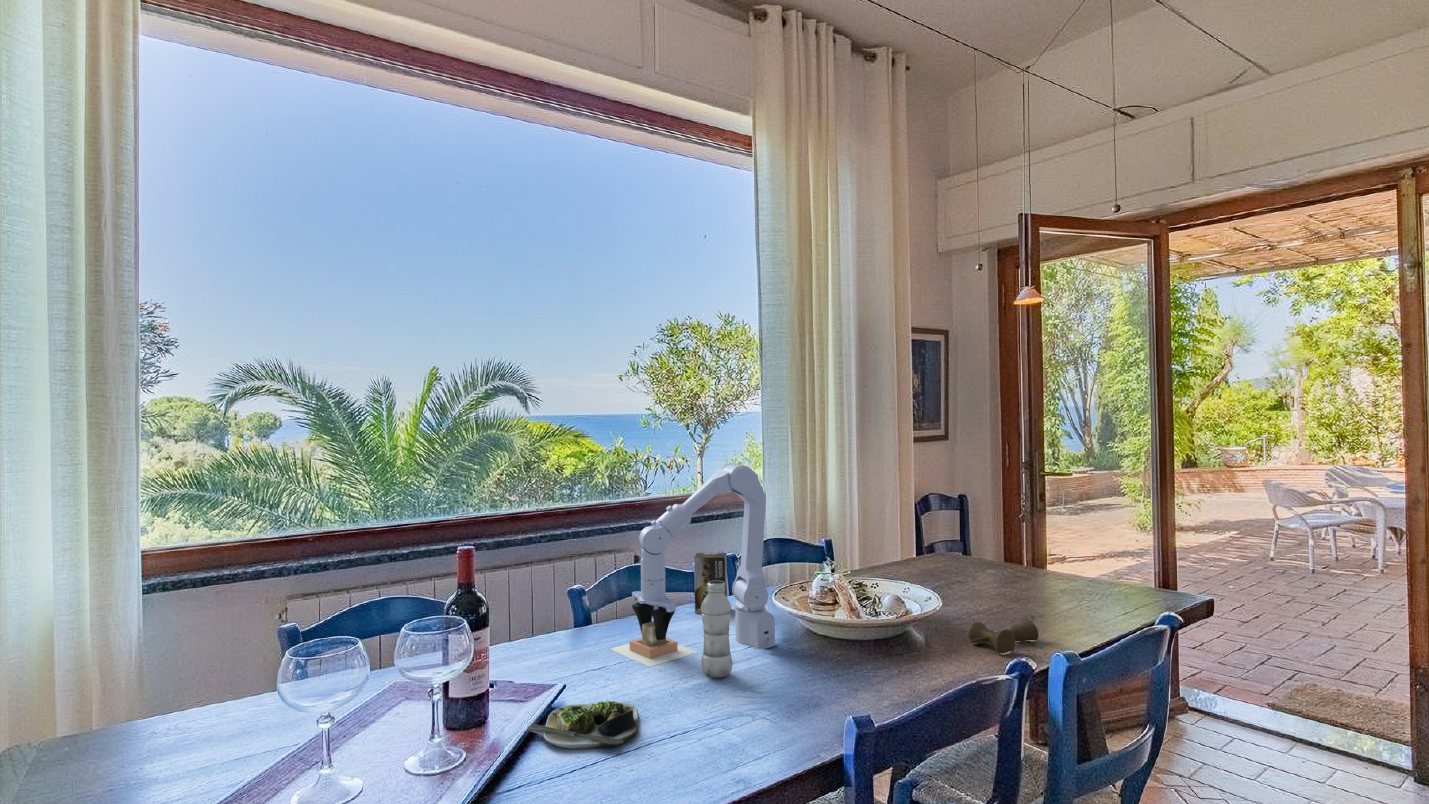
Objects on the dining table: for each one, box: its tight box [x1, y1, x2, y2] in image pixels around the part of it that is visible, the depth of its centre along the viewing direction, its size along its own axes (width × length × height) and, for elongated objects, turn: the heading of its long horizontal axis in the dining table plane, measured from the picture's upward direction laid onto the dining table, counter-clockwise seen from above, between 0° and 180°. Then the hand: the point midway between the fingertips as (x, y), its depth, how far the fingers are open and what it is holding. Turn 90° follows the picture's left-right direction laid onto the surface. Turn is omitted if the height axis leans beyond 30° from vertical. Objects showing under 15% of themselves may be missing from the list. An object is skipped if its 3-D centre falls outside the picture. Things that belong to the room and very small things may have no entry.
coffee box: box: [693, 552, 728, 615], centre depth 199 cm, size 9×6×16 cm
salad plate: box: [527, 700, 640, 750], centre depth 124 cm, size 19×18×5 cm
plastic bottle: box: [701, 581, 734, 679], centre depth 149 cm, size 6×7×20 cm
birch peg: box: [641, 620, 667, 647], centre depth 163 cm, size 4×4×6 cm
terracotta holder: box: [629, 637, 678, 659], centre depth 163 cm, size 8×8×2 cm
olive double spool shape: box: [968, 620, 1039, 653], centre depth 167 cm, size 6×10×20 cm
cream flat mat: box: [609, 642, 698, 668], centre depth 163 cm, size 16×14×1 cm
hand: (653, 636), depth 163 cm, fingers open, 5 cm apart
